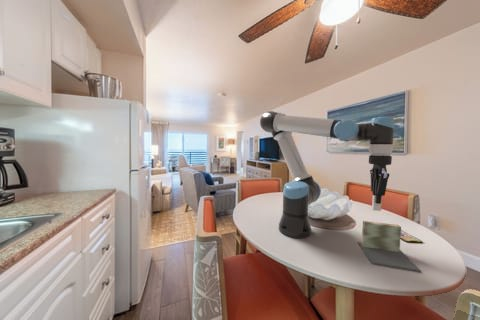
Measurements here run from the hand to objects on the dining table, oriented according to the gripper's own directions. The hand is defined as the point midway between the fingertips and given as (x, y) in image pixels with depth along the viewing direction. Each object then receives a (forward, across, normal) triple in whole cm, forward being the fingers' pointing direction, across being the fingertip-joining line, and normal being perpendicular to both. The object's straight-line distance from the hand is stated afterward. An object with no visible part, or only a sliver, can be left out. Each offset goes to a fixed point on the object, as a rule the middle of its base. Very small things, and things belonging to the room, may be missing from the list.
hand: (376, 210), depth 76 cm
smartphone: (+15, +13, -14) cm, 25 cm away
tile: (+14, -6, 0) cm, 15 cm away
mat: (+14, -10, 0) cm, 18 cm away
